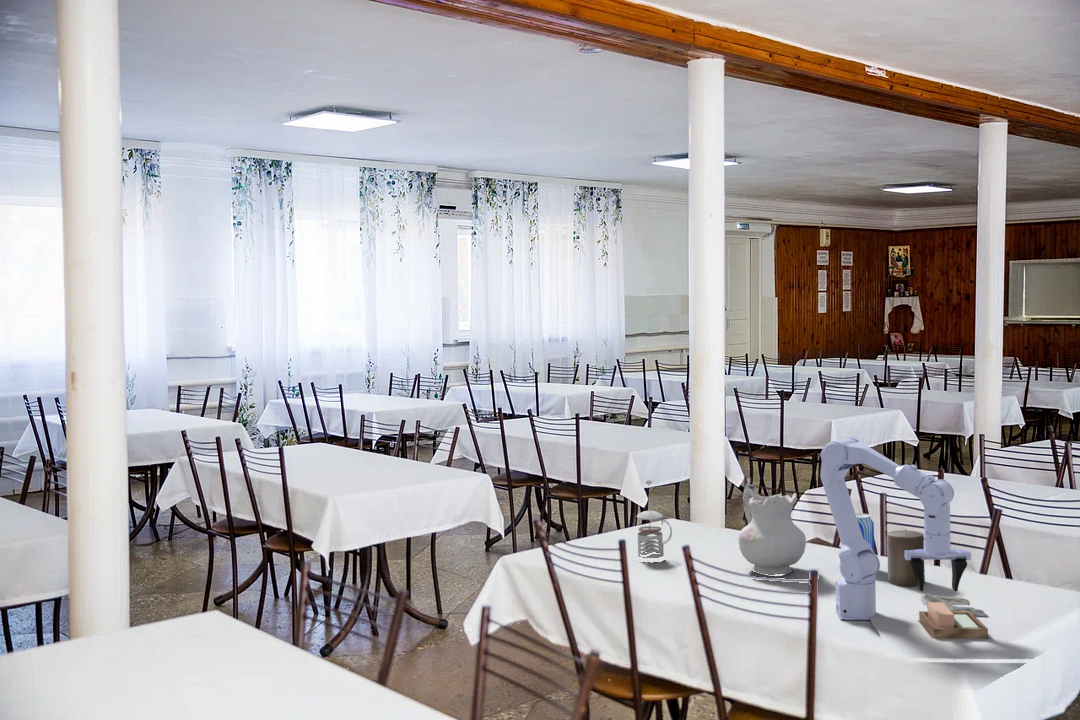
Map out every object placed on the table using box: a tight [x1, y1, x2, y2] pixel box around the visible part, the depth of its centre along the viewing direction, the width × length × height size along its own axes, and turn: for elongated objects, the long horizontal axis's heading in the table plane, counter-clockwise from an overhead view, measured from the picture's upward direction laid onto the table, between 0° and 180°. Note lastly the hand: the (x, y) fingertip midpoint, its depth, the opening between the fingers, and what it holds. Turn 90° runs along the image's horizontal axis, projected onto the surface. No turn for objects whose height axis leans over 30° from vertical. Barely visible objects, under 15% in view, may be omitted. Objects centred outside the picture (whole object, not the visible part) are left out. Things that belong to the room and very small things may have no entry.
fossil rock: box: [921, 593, 990, 618], centre depth 258 cm, size 18×15×2 cm
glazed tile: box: [954, 614, 979, 628], centre depth 240 cm, size 3×10×2 cm, turn 173°
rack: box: [917, 610, 991, 640], centre depth 240 cm, size 13×14×3 cm
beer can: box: [855, 512, 875, 553], centre depth 300 cm, size 8×8×16 cm
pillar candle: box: [886, 528, 926, 587], centre depth 285 cm, size 10×10×15 cm
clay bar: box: [927, 602, 954, 628], centre depth 240 cm, size 3×10×5 cm, turn 173°
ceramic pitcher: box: [738, 483, 807, 575], centre depth 302 cm, size 22×20×25 cm
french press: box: [636, 479, 673, 558], centre depth 320 cm, size 10×12×25 cm
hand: (937, 590), depth 241 cm, fingers open, 7 cm apart
